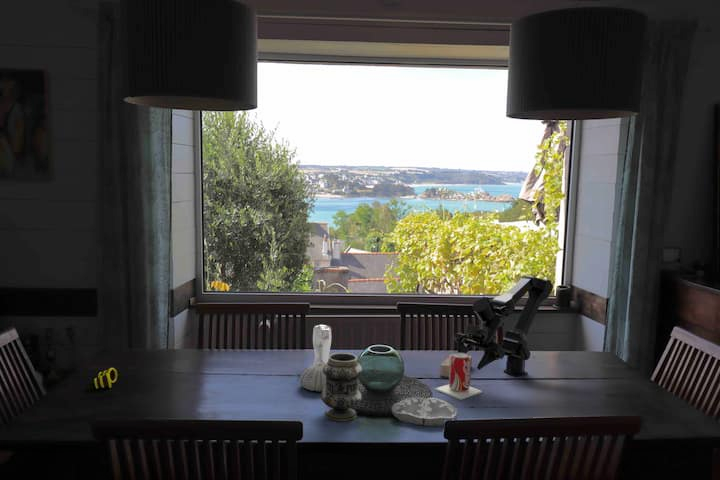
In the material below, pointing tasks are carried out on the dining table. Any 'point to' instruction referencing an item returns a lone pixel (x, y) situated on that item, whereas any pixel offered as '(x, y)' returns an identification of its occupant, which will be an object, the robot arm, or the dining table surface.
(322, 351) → the beer glass
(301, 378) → the sea urchin shell
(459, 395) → the pad
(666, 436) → the dining table surface
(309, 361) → the dining table surface
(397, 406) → the brain slice
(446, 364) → the brick
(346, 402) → the apothecary jar
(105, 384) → the yellow coil spring
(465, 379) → the soda can
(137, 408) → the dining table surface
